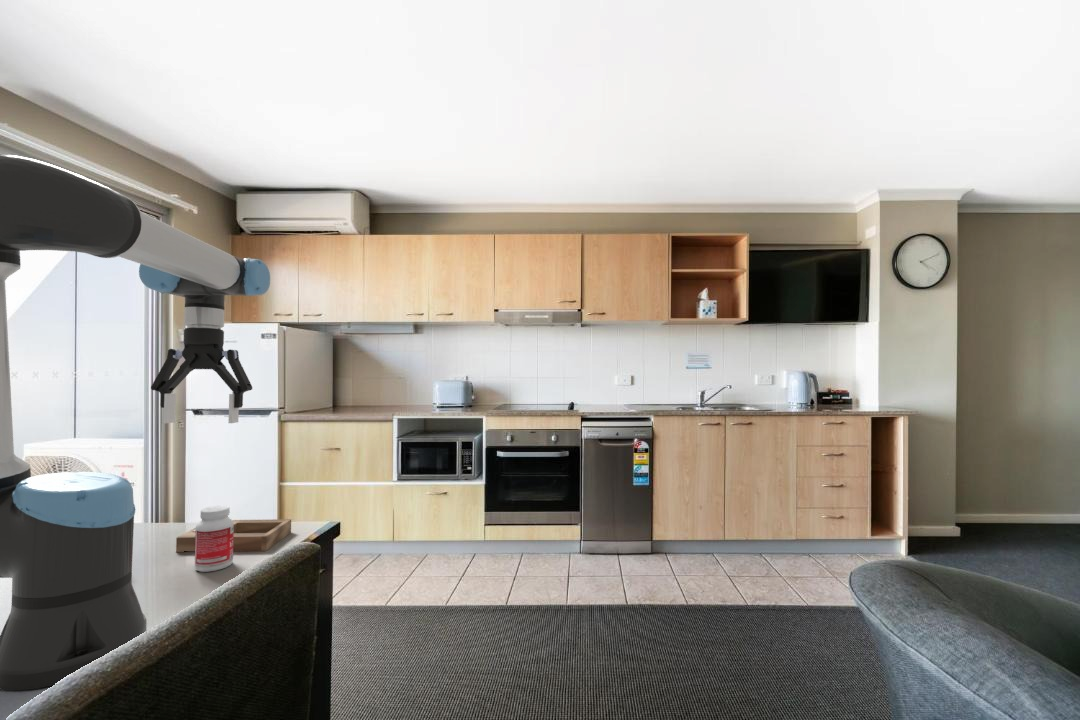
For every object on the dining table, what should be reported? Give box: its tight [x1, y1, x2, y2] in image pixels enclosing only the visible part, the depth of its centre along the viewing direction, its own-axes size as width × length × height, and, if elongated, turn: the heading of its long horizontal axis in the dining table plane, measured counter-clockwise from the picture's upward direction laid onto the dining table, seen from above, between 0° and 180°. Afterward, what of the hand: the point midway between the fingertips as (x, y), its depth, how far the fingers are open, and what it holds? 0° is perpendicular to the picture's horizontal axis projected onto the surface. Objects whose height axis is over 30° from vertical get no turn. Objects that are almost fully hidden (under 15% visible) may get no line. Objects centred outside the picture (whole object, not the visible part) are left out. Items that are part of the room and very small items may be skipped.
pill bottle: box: [194, 505, 234, 573], centre depth 96 cm, size 6×6×11 cm
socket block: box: [175, 518, 292, 553], centre depth 110 cm, size 12×18×3 cm, turn 94°
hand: (201, 422), depth 112 cm, fingers open, 13 cm apart
